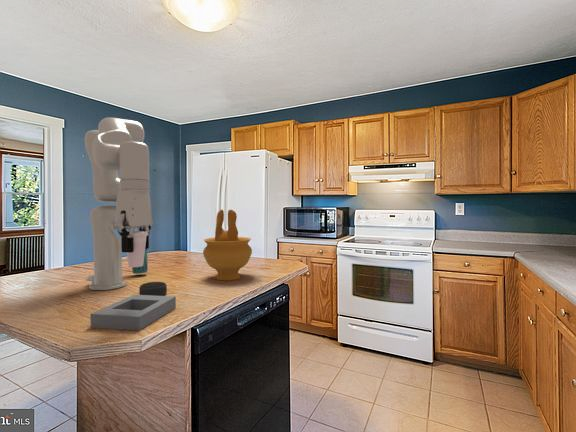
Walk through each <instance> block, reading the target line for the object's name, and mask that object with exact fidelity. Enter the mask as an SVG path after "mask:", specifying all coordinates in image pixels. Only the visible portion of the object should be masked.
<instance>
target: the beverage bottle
mask: <svg viewBox="0 0 576 432" xmlns="http://www.w3.org/2000/svg"><path fill="white" fill-rule="evenodd" d="M148 260H149V259H148V249H145V254H144V263H143V266H141V267H131V268H132V269H131V270H132V274H134V275H135V274H136V275H138V274H139V275H140V274H147V273H148V263H149V261H148Z"/></svg>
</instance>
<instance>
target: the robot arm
mask: <svg viewBox="0 0 576 432" xmlns="http://www.w3.org/2000/svg"><path fill="white" fill-rule="evenodd" d="M144 141H145V129H144V126H143V125H142V124H141V123H140V122H139V121H136V120H132V119H125V118H118V117H104V118H103V119H101V120H100V121H99V123H98V125H97V129H92V130H88V131H87V132H86V133H85V135H84V146H85V152H86V154H87V156H88V158H89V161H90V163H91V168H92V184H93V185H92V187H93V195H94V199H95V200H96V201H98V202H100V203H115V205H99V206H96V207H93V208H92V209H91V210H90V213H89V219H90V220H89V221H90V226H91V230H92V240H93V241H92V242H93V243H92V244H93V245H92V247H93V274H90V275H88V277H86V279H85V280H86V282H91V284H89V289H90V290H91V291H108V290H115V289H119V288H123V287H125V286H126V285H128V284H127V281H126V280H124V279H123V263H122V262H123V261H122V260H123V259H122V258H123V257H122V256H123V253H127V252H130V253H131V252H133V251H134V244H133V238H131V237H132V233H133V229H134V230H135V229H137V231H147V232H148V235H147V237H146V245H145V249H147V250H149V248H150V237H149V235H150V234H151V230H152V226H153V224H154V220H153V218H152V204H151V197H150V152H149V151H150V150H149V149H150V148H149V146H148V145H147V144H146V143H144ZM118 171H119V175H118ZM115 231H117V232H118V234H119V236H118V235H117V233H115Z"/></svg>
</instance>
